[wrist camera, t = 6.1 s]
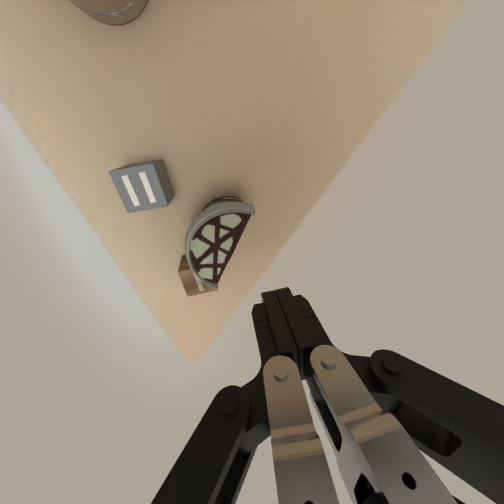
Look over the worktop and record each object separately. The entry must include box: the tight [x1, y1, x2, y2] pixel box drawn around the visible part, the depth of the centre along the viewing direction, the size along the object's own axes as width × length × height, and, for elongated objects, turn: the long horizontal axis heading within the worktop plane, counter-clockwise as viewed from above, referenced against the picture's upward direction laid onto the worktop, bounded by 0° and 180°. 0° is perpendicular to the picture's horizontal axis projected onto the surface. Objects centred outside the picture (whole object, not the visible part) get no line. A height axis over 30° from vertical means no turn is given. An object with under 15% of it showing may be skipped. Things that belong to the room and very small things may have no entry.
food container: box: [185, 197, 255, 289], centre depth 29 cm, size 12×6×10 cm, turn 154°
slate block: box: [108, 160, 174, 213], centre depth 27 cm, size 5×5×5 cm
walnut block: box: [178, 255, 218, 296], centre depth 35 cm, size 5×5×5 cm
